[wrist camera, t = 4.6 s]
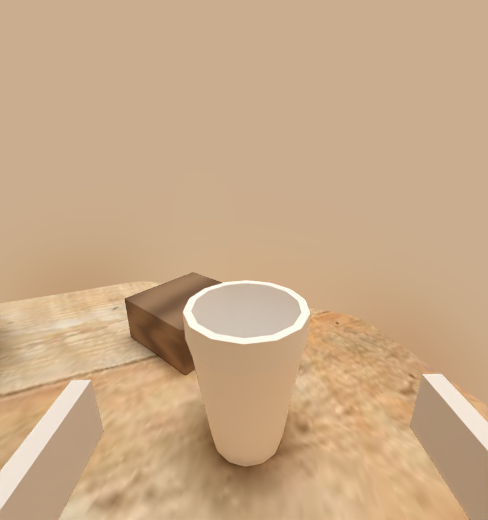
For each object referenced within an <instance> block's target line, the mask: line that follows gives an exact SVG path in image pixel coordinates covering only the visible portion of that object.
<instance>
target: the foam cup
mask: <svg viewBox="0 0 488 520" xmlns="http://www.w3.org/2000/svg"><path fill="white" fill-rule="evenodd" d="M183 320H184V331H185V340H186V342H187V345H188V347H189V350H190V352H191V355H192V357H193V361H194V366H195V370H196V374H197V378H198V382H199V386H200V390H201V394H202V398H203V402H204V406H205V410H206V414H207V418H208V423H209V427H210V431H211V434H212V438H213V441H214V444H215V446H216V449H217V452H218V453H220V454H221V455H222V456H223V457H224V458H225V459H226V460H227V461H228V462H230V463H233V464H237V465H241V466H244V467H248V466H253V465H258V464H263V463H264V462H265V461H267V460H268V459H269V458H270V457H272V456H273V455H274V454H275V453H276V451H277V449H278V446H279V444H280V442H281V438H282V435H283V432H284V427H285V423H286V419H287V415H288V411H289V407H290V402H291V398H292V394H293V390H294V386H295V381H296V377H297V373H298V369H299V365H300V360H301V356H302V352H303V350H304V348H305V346H306V344H307V342H308V334H309V322H310V312H309V309H308V307H307V303H306V301H305V299H303V298H302V297H301V296H299V295H298V294H297V293H295V292H294V291H292V290H291V289H288V288H285V287H282V286H279V285H275V284H273V283H268V282H258V281H248V280H247V281H236V282H225V283H221V284H218V285H214V286H211V287H208V288H204V289H203V290H201V291H200V292H198V293H197V294H195V295H194V296H192V297H191V298H189V300H188V302H187V304H186V306H185V308H184V310H183Z"/></svg>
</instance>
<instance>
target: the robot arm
mask: <svg viewBox="0 0 488 520" xmlns="http://www.w3.org/2000/svg"><path fill="white" fill-rule="evenodd" d="M410 427H411V429H412V431H413V432H414V434H415V435H416V437H417V438H418V440H419V442H420V443H421V445H422V446H423V448H424V449H425V451H426V452H427V454H428V456H429V457H430V459H431V460H432V462H433V463H434V465H435V467H436V468H437V470H438V471H439V473H440V474H441V476H442V478H443V479H444V481H445V482H446V484H447V485H448V487H449V488H450V490H451V492H452V493H453V495H454V496H455V498H456V499H457V501H458V503H459V504H460V506H461V507H462V509H463V510H464V512H465V514H466V515H467V517H468V518H469V520H488V422H487V421H486V420H485V419H484V418H483V417H482V416H481V415H480V414H479V413H478V412H477V411H476V410H475V409H474V408H473V406H472V405H471V404H470V403H469V402H468V401H467V400H466V399H465V398H464V397H463V396H462V395H461V394H460V393H459V392H458V391H457V390H456V389H455V388H454V386H453V385H452V384H451V383H450V382H449V381H448V380H447V379H446V378H445V377H444V376H443V375H442V374H422V378H421V382H420V386H419V391H418V395H417V399H416V403H415V407H414V412H413V416H412V420H411V424H410ZM103 432H104V431H103V427H102V422H101V418H100V414H99V410H98V406H97V402H96V397H95V393H94V389H93V385H92V381H91V380H72V381H71V382H70V383H69V384H68V386H67V387H66V388H65V390H64V391H63V392H62V393H61V395H60V396H59V397H58V398H57V400H56V401H55V402H54V404H53V405H52V406H51V407H50V409H49V410H48V411H47V412H46V414H45V415H44V416H43V417H42V419H41V420H40V421H39V423H38V424H37V425H36V426H35V428H34V429H33V430H32V431H31V433H30V434H29V435H28V437H27V438H26V439H25V440H24V442H23V443H22V444H21V445H20V447H19V448H18V449H17V451H16V452H15V453H14V454H13V456H12V457H11V458H10V459H9V461H8V462H7V463H6V464H5V466H4V467H3V468H2V470H1V471H0V520H58V519H59V517H60V515H61V513H62V511H63V509H64V507H65V506H66V504H67V502H68V500H69V498H70V496H71V494H72V492H73V490H74V488H75V486H76V484H77V482H78V480H79V478H80V477H81V475H82V473H83V471H84V469H85V467H86V465H87V463H88V461H89V459H90V457H91V455H92V453H93V451H94V449H95V448H96V446H97V444H98V442H99V440H100V438H101V436H102V434H103Z"/></svg>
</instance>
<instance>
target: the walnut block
mask: <svg viewBox="0 0 488 520" xmlns="http://www.w3.org/2000/svg"><path fill="white" fill-rule="evenodd" d="M221 283H222V282H219V281H216V280H213V279H210V278H208V277H205V276H202V275H199V274H197V273H190V274H188V275H185V276H182V277H180V278H177V279H174V280H172V281H170V282H167V283H164V284H161V285H159V286H156V287H154V288H151V289H148V290H146V291H143V292H141V293H138V294H135V295H133V296H130V297H127V298H125V304H126V309H127V315H128V321H129V327H130V333H131V337H133V338H134V339H135V340H137V341H138V342H140V343H141V344H142V345H144V346H145V347H147V348H148V349H149V350H151V351H152V352H154V353H155V354H156V355H158V356H159V357H161V358H162V359H164V360H165V361H166V362H168V363H169V364H171V365H172V366H173V367H175V368H176V369H178V370H179V371H180V372H182V373H183V374H185V375H186V374H188V373H189V372H191V371H192V370H193V369H195V366H194V361H193V357H192V355H191V352H190V350H189V347H188V345H187V342H186V340H185V331H184V320H183V310H184V308H185V306H186V304H187V302H188V300H189V298H191V297H192V296H194V295H195V294H197V293H198V292H200V291H201V290H203V289H204V288H208V287H211V286H214V285H218V284H221Z"/></svg>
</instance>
